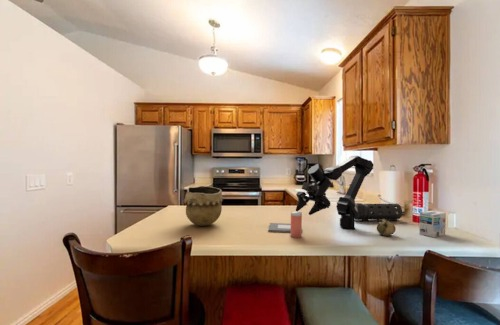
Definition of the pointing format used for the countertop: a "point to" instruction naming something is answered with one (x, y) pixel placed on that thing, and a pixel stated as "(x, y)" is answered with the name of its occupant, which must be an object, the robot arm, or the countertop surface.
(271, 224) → the mat
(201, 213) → the clay pot
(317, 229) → the countertop surface
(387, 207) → the muzzle brake
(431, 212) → the light bulb box
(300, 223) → the salt shaker
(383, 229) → the onion
